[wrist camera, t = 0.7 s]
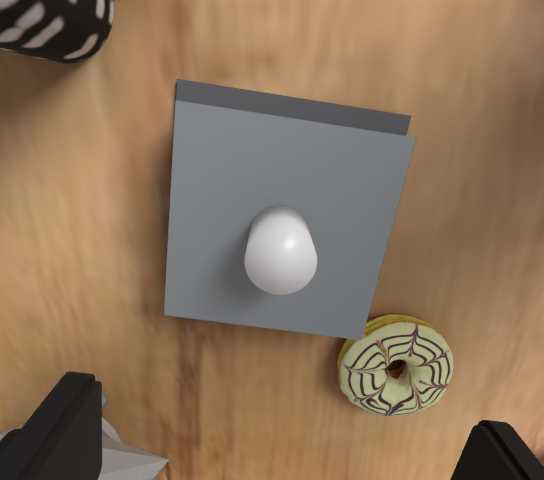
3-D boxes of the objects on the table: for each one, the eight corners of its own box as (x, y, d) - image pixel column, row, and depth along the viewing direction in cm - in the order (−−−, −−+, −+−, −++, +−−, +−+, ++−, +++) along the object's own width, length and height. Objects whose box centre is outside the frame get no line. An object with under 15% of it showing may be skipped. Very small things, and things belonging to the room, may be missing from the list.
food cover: (387, 133, 28) (454, 143, 18) (346, 301, 33) (380, 387, 22) (195, 103, 27) (148, 95, 17) (182, 279, 32) (140, 358, 22)
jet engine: (196, 456, 40) (141, 698, 23) (12, 440, 39) (-179, 678, 22) (202, 343, 35) (139, 548, 18) (-7, 322, 34) (-269, 516, 18)
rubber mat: (409, 116, 28) (411, 116, 28) (357, 315, 34) (358, 317, 33) (178, 79, 27) (177, 78, 27) (166, 290, 33) (165, 292, 33)
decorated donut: (366, 412, 38) (376, 443, 34) (314, 339, 35) (319, 365, 31) (458, 368, 36) (478, 395, 32) (411, 287, 33) (428, 308, 29)
